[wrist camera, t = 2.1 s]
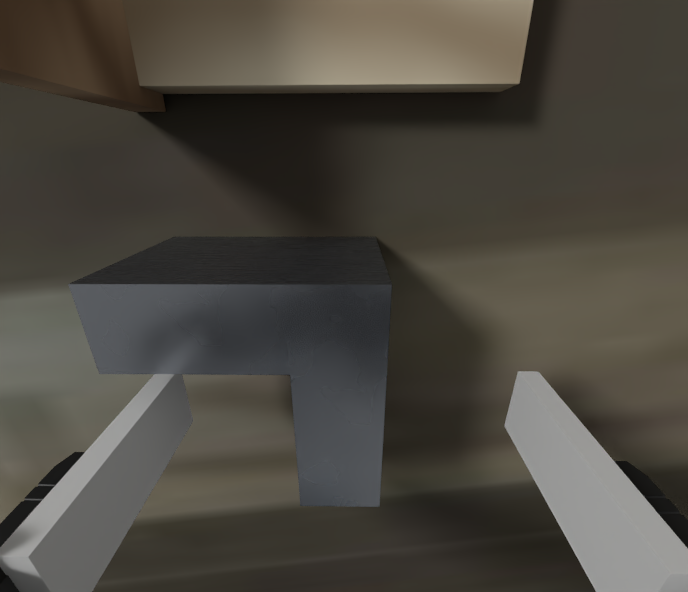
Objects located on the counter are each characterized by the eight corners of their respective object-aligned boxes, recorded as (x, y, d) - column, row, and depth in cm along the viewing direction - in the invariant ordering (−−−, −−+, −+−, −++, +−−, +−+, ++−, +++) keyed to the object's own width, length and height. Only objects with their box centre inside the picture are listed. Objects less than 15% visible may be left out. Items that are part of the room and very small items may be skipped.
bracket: (370, 400, 18) (379, 506, 13) (206, 398, 18) (144, 504, 13) (375, 237, 15) (392, 284, 9) (173, 236, 15) (68, 284, 9)
